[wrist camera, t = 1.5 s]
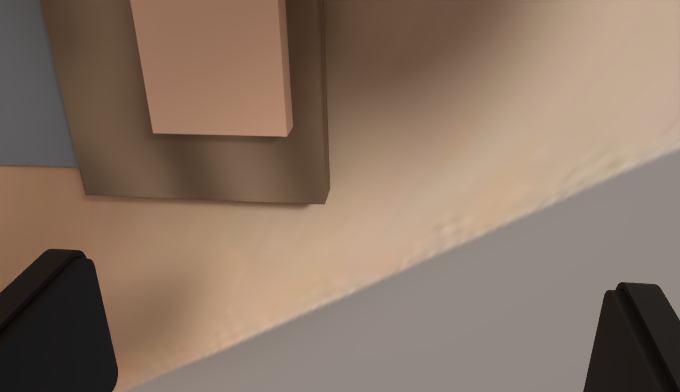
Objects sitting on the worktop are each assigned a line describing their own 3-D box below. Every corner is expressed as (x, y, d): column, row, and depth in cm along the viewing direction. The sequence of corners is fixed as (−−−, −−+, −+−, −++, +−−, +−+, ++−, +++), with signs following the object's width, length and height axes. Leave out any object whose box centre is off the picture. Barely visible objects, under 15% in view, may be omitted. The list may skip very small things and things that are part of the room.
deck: (319, -125, 28) (311, -126, 26) (329, 188, 35) (324, 204, 33) (37, -116, 30) (12, -116, 28) (102, 180, 37) (85, 194, 35)
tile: (284, -16, 28) (276, -11, 27) (292, 126, 31) (287, 136, 30) (142, -15, 29) (128, -10, 28) (164, 123, 32) (153, 133, 31)
